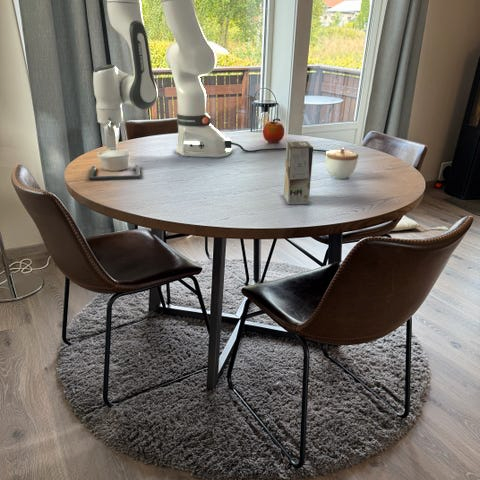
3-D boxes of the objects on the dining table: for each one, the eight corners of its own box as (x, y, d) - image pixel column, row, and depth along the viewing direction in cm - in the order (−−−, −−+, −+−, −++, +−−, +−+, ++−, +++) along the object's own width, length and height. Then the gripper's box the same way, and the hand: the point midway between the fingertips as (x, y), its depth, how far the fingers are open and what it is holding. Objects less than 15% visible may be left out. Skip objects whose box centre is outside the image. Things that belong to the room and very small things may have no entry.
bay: (92, 169, 176) (91, 166, 175) (139, 167, 178) (138, 164, 178) (89, 180, 163) (89, 177, 162) (140, 178, 166) (139, 175, 165)
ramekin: (96, 165, 180) (94, 150, 177) (127, 162, 183) (125, 148, 181) (102, 173, 171) (100, 157, 168) (134, 170, 175) (132, 154, 172)
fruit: (272, 138, 224) (273, 115, 219) (288, 142, 218) (289, 118, 213) (257, 141, 218) (258, 117, 213) (273, 145, 212) (274, 120, 207)
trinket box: (357, 174, 174) (361, 146, 169) (353, 182, 165) (356, 153, 160) (327, 171, 177) (329, 143, 172) (321, 178, 168) (323, 150, 163)
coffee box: (309, 204, 144) (314, 147, 136) (287, 204, 144) (291, 147, 135) (303, 195, 152) (307, 140, 144) (282, 195, 152) (285, 140, 143)
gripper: (117, 121, 166) (122, 163, 174) (120, 112, 184) (124, 150, 191) (98, 121, 166) (103, 164, 173) (102, 112, 183) (107, 150, 190)
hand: (114, 156), depth 182 cm, fingers closed
